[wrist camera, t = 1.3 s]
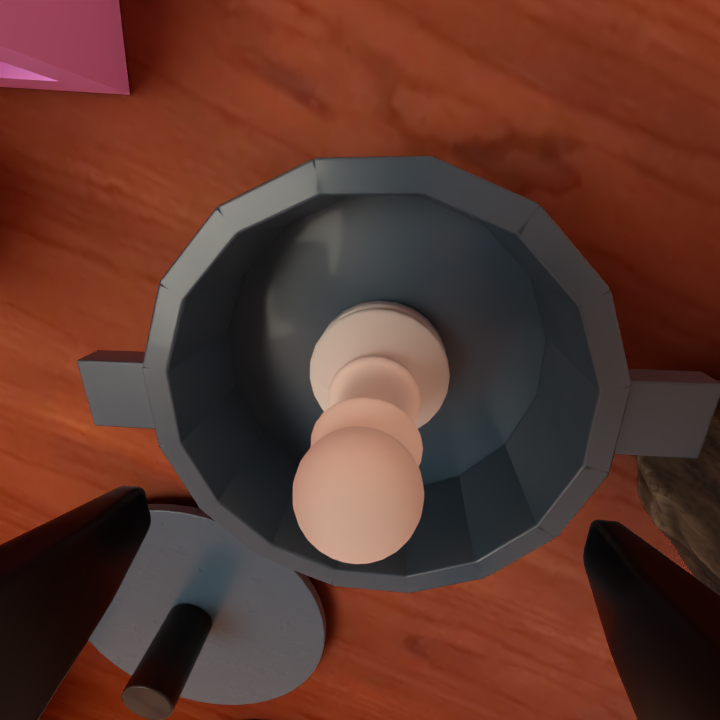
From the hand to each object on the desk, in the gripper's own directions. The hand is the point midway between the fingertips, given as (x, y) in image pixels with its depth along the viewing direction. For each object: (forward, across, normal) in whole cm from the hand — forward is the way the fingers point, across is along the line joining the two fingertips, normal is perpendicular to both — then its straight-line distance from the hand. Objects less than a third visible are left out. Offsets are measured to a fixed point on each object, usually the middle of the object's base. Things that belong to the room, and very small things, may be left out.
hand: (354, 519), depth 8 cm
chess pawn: (+9, 0, 0) cm, 9 cm away
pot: (+9, 0, 0) cm, 9 cm away
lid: (+8, +10, +15) cm, 20 cm away
